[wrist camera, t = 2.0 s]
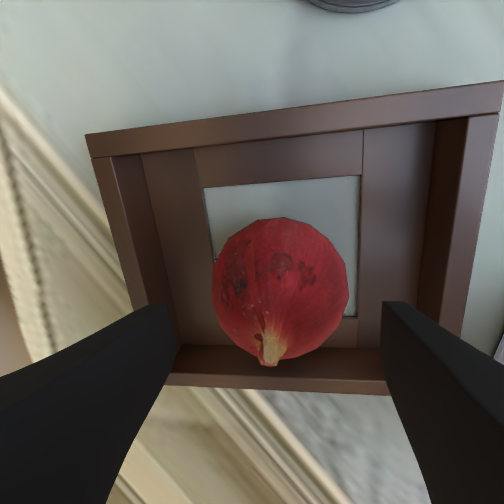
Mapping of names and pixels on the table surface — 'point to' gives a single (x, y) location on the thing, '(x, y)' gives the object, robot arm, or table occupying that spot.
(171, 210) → the tray
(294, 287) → the onion
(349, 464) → the table surface
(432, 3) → the table surface
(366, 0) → the coaster
